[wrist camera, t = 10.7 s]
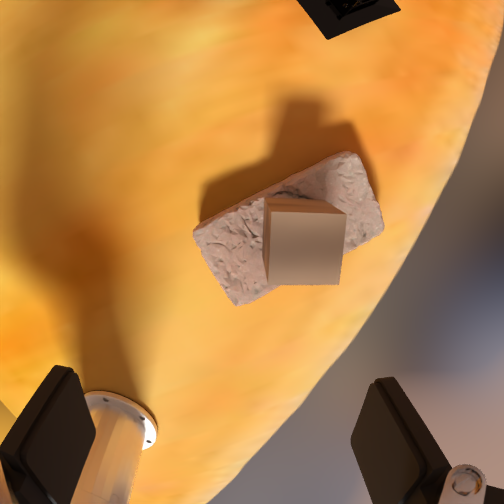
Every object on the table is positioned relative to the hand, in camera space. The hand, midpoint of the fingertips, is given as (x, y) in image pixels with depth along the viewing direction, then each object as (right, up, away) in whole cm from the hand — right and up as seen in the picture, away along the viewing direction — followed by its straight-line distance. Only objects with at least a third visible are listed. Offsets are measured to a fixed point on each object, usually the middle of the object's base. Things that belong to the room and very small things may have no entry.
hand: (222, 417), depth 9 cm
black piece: (+11, +31, +15) cm, 36 cm away
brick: (+4, +8, +22) cm, 24 cm away
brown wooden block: (+4, +7, +18) cm, 20 cm away
